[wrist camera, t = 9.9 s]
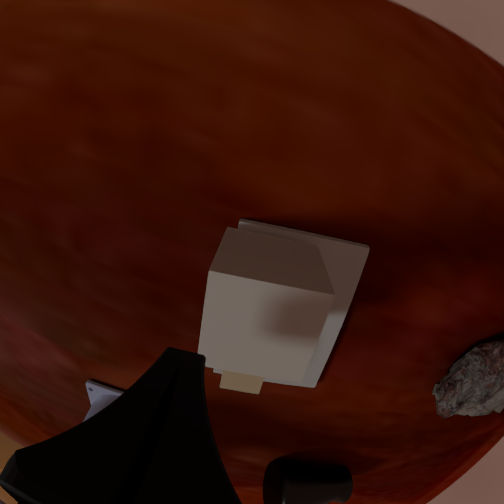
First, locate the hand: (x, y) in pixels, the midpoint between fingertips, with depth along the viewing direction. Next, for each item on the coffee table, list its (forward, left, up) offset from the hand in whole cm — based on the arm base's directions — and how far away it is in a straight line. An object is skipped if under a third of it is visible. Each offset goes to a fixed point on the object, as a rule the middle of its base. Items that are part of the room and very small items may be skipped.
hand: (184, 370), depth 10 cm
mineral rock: (-6, -26, -10) cm, 29 cm away
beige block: (0, -3, -9) cm, 9 cm away
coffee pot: (-29, -13, -10) cm, 33 cm away
